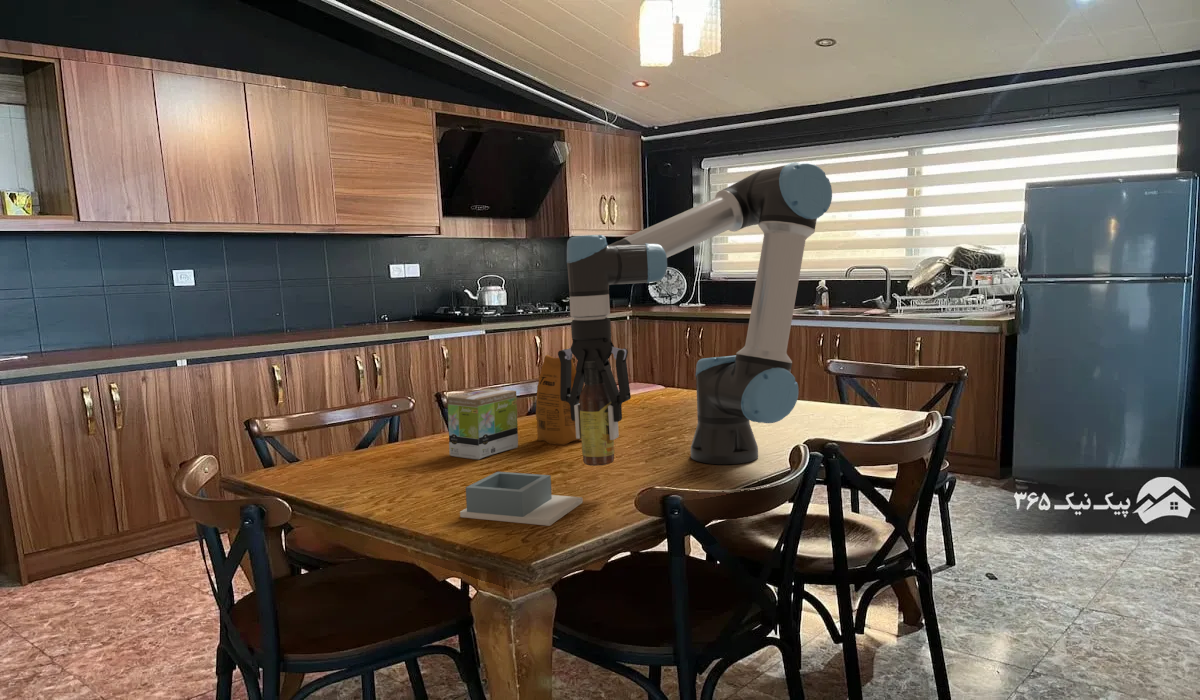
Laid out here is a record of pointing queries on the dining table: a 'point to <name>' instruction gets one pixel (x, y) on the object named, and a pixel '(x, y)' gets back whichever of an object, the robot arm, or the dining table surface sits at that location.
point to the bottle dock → (517, 499)
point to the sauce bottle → (595, 419)
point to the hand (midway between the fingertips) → (597, 437)
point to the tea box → (482, 423)
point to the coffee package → (553, 405)
